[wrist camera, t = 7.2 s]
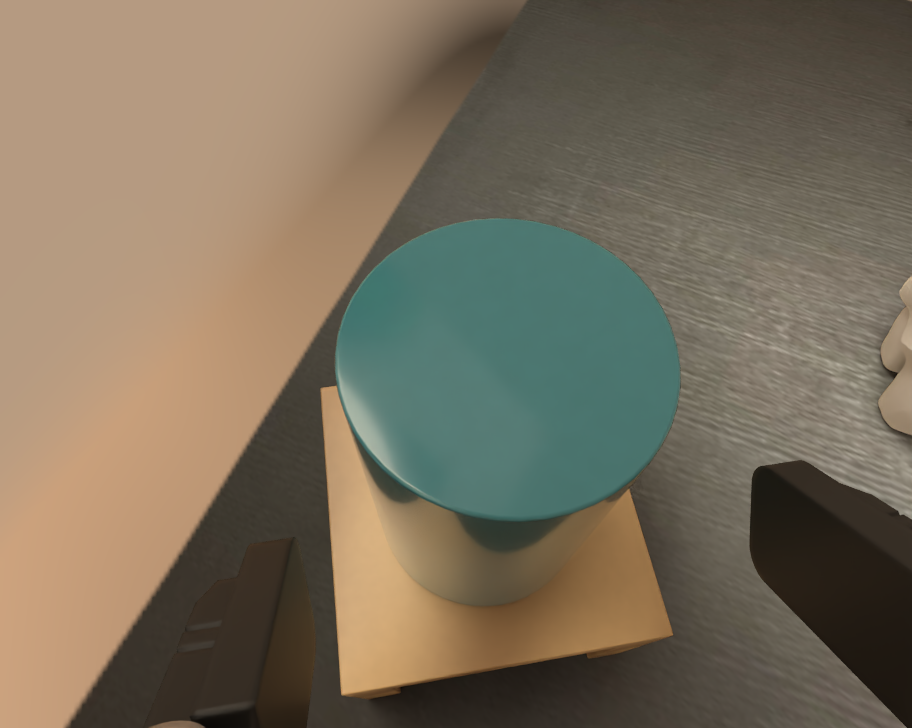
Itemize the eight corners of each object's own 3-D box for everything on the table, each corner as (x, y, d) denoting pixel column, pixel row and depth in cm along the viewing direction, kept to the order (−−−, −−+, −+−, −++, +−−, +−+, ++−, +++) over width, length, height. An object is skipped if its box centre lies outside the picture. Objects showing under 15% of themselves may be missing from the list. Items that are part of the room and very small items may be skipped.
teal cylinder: (392, 624, 17) (348, 550, 9) (370, 422, 20) (323, 235, 12) (605, 587, 18) (734, 488, 10) (555, 396, 21) (624, 200, 13)
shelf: (366, 699, 22) (341, 695, 16) (345, 453, 26) (320, 387, 21) (620, 653, 22) (674, 635, 17) (559, 422, 27) (587, 351, 21)
